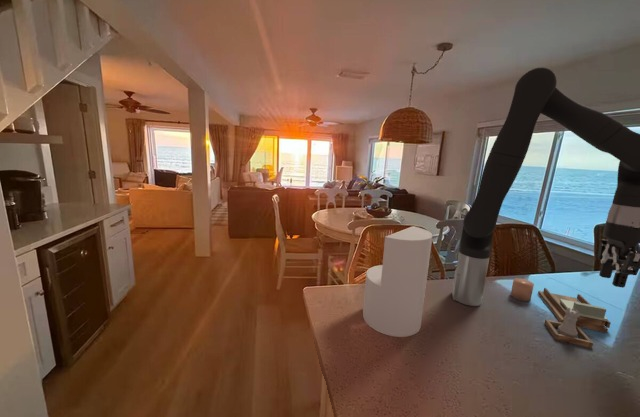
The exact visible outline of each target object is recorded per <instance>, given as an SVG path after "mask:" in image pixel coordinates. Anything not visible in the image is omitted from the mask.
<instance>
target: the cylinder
mask: <svg viewBox="0 0 640 417" xmlns="http://www.w3.org/2000/svg"><path fill="white" fill-rule="evenodd" d="M432 242H433V234H432V233H431V231H429V230H427V229H424V228H421V227H418V226H414V225H413V226H410V227H407V228H405V229H402V230H400V231H397V232H393V233H392V234H389V235H385V236H384V245H383V256H382V264H379V265H375V266H372V267H370V268H368V269H367V271H366V272H365V286H364V294H363V295H364V296H363V297H364V298H363V311H362V316H363V319H364V322H365V323H366V324H367V325H368V326H369V327H370V328H371V329H373V330H374V331H375V332H376V331H377V332H378V333H381V334H383V335H387V336H390V337H395V338H396V337H398V338H404V337H405V338H406V337H411V336H413V335H415V334H417V333H418V332H420V330H421V327H422V319H423V312H424V304H425V295H426V289H427V288H426V287H427V280H428V273H429V265H430V257H431V250H432Z"/></svg>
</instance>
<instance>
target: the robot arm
mask: <svg viewBox="0 0 640 417" xmlns="http://www.w3.org/2000/svg"><path fill="white" fill-rule="evenodd" d="M556 86H557V77H556V74H555V73H554V71H553V70H551V69H550V68H548V67H544V66H543V67H541V66H540V67H535V68H532V69H530V70H529V71H526V73H525V74H524V73H523V75H522V76H521V77H520V78H519V79H518V81H517V82H516V85H515V87H514V93H513V95H512V96H513V97H512V101H511V103H510V107H509V110H508V113H507V116H506V118H505V121H504V122H503V125H502V127H501V129H500V130H499V133H498V134H497V136H496V139H495V141H494V142H493V145H492V147H491V148H490V151H489V153H488V156H487V160H486V161H485V164H484V167H483V170H482V175H481V177H480V183H479V188H478V191H477V193H476V196H475V198H474V200H473V202H472V205H471V207H470V208H469V210H468V211H467V212H466V213H465V215H464V217H463V220H462V221H463V223H462V224H463V225H462V230H461V238H460V242H459V248H458V256H457V262H456V268H455V271H454V274H453V275H454V276H453V282H452V283H453V284H452V289H451V295H452V296H451V297H452V300H453V301H455V302H458V303H460V304H462V305H466V306H469V307H479V306H481V304H482V302H483V297H484V291H485V286H486V280H487V273H488V268H489V264H490V263H489V261H490V257H491V251H492V243H493V242H492V241H493V236H494V231H495V229H496V226H497V221H498V219H499V218H498V217H499V215H500V212H501V208H502V205H503V202H504V200H505V199H506V196H507V194H508V193H509V191H510V189H511V187H512V186H513V184H514V183H515V180H516V178H517V176H518V174H519V172H520V170H521V167H522V165H523V163H524V160H525V159H526V155H527V153H528V151H529V148H530V145H531V142H532V138H533V136H534V135H533V134H534V130H535V127H536V124H537V121H538V120H539V117H540V115H543V116H546V117H547V118H549V119H551V120H552V121H554V122H557V123H558V124H560V125H561V126H563V127H564V128H565V129H567V130H568V131H569V132H571V133H573V135H576V136H577V138H580V139H582V140H583V141H584V142H586V143H587V144H589V145H590V146H592V147H594V148H595V149H597V150H599V151H601V152H604V153H606V154H609V155H611V156H613V157H614V158H616V159H617V160H618V161H619V163H618V167H617V168H618V169H617V179H616V180H617V182H616V183H617V185H616V189H615V192H614V195H613V198H612V203H611V206H610V208H609V210H608V213H607V217H606V221H605V225H604V229H603V232H602V236H603V237H604V238H606V239H604V238H601V239H600V240H599V246H598V253H597V259H598V260H600V264H601V267H600V269H599V270H600V272H599V276H600V277H601V278H605V279H610V278H612V274H613V270H614V265H615V272H614V276H613V280H612V282H611V283H612V284H611V285H612V286H614V287H617V288H625V287H626V283H627V280H628V278H629V276H637V275H638V274H639V273H638V272H639V270H640V253H639V252H637V245H638V244H640V133H638V132H636V131H633V130H632V129H630V128H628V126H625V125H624V124H623V123H621V122H619V121H618V120H616V119H614V118H613V117H611V116H609V115H608V114H606V113H604V112H602V111H599V110H597V109H594V108H592V107H590V106H589V107H588V106H587V105H584V104H582V103H579V102H577V101H575V100H574V99H571V98H570V97H568V96H567V95H565V94H564V93H563V92H562V91H561V90H559V89H558V88H557V87H556ZM632 267H633V268H632Z"/></svg>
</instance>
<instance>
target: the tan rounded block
mask: <svg viewBox="0 0 640 417" xmlns="http://www.w3.org/2000/svg"><path fill="white" fill-rule="evenodd" d="M534 286H535V284H534V282H532V281H530V280H528V279H524V278H519V277H515V278H513V280H512V285H511V289H510V290H511V291H510V296H511V297H513V299H514V298H515V299H516V298H517V299H516V300H520V301H523V302H530V301H531V299H532V295H533V292H534V291H533V290H534Z"/></svg>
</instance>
